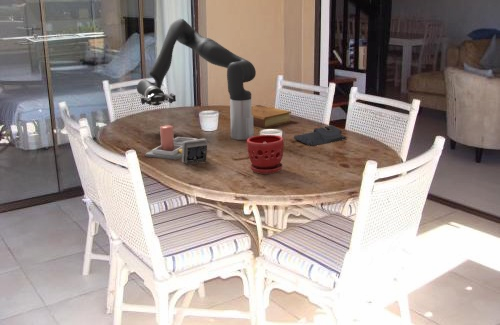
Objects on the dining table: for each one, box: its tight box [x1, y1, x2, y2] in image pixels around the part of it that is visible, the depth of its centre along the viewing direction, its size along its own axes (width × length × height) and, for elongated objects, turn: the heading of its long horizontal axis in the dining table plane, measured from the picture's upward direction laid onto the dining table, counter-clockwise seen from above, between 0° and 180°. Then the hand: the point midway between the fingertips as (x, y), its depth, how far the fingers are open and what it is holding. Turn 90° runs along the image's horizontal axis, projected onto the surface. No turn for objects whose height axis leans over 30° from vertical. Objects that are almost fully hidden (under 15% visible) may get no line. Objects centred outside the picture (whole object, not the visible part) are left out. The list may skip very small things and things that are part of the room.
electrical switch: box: [181, 138, 208, 166], centre depth 215 cm, size 9×5×9 cm, turn 113°
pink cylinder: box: [159, 124, 175, 151], centre depth 227 cm, size 5×5×10 cm
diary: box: [251, 104, 292, 129], centre depth 281 cm, size 23×19×6 cm
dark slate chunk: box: [293, 124, 347, 147], centre depth 247 cm, size 15×22×5 cm
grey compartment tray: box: [145, 136, 198, 160], centre depth 234 cm, size 14×24×2 cm, turn 158°
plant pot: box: [246, 134, 285, 175], centre depth 205 cm, size 13×13×12 cm
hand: (160, 101), depth 233 cm, fingers open, 8 cm apart
